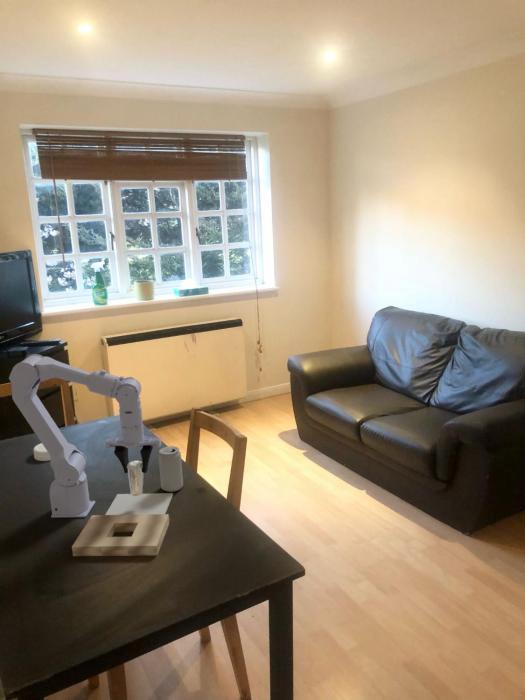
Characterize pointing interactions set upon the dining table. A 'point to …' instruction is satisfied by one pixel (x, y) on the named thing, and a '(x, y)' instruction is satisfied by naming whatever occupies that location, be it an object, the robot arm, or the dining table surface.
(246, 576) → the dining table surface
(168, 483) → the beverage can
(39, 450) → the white ridged disc
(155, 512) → the grey mat
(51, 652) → the dining table surface
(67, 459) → the robot arm
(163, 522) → the pocket holder
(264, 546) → the dining table surface
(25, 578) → the dining table surface
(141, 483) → the milkshake
